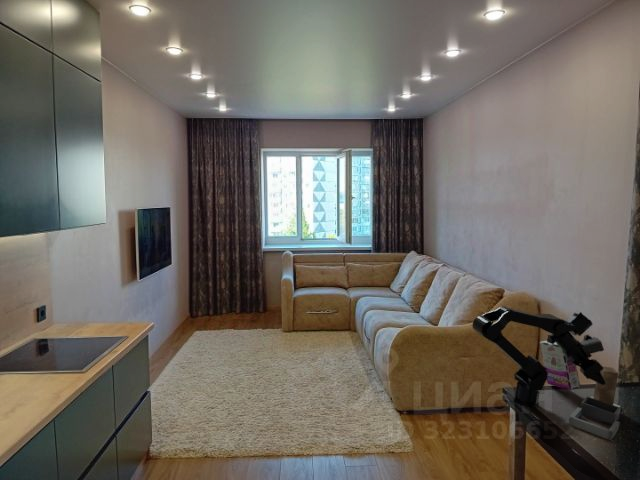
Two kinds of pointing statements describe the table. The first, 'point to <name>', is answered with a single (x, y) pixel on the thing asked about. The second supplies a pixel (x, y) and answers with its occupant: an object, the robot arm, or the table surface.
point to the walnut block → (607, 386)
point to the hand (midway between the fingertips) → (599, 378)
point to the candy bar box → (559, 367)
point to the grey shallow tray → (592, 425)
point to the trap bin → (600, 410)
